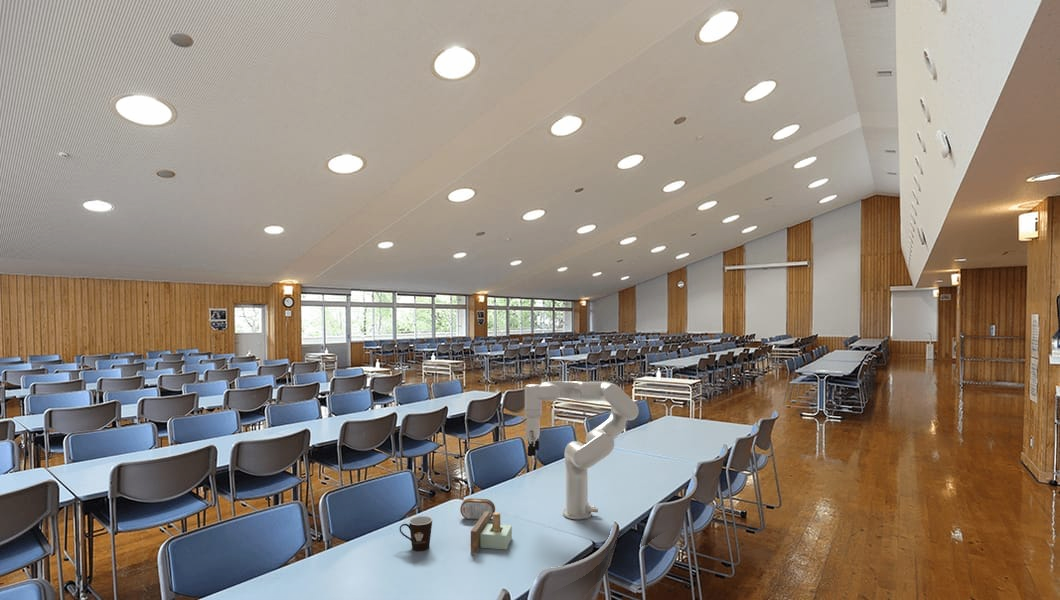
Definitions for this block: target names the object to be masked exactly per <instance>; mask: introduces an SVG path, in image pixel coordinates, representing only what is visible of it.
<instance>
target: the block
mask: <svg viewBox="0 0 1060 600" xmlns="http://www.w3.org/2000/svg"><path fill="white" fill-rule="evenodd" d="M512 532H513V525H511V524H500V532H493V523H490V524H487V525H486V526H485V528H484V529H483V531H482V532H481V534H480V548H481V549H495V550H496V549H497V550H507V549H508V547H509V545H510V543H511V541H512V539H513V538H512V537H513V536H512V535H513V533H512ZM480 548H479V549H480Z"/></svg>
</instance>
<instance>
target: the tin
mask: <svg viewBox="0 0 1060 600" xmlns="http://www.w3.org/2000/svg"><path fill="white" fill-rule="evenodd" d="M485 511H489V512H490V519H492V518H493V513H495V512H496V506H495V503H494V502H493V501H492V500H491V499H487V498H466V499H465V500H463V501H462V503H461V505H460V511H459V512H460V514H461V516H462V517H463V518H464V519H466V520H475V521H478V520H479V519H480V517H481V516H482V515H483V513H484V512H485Z"/></svg>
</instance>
